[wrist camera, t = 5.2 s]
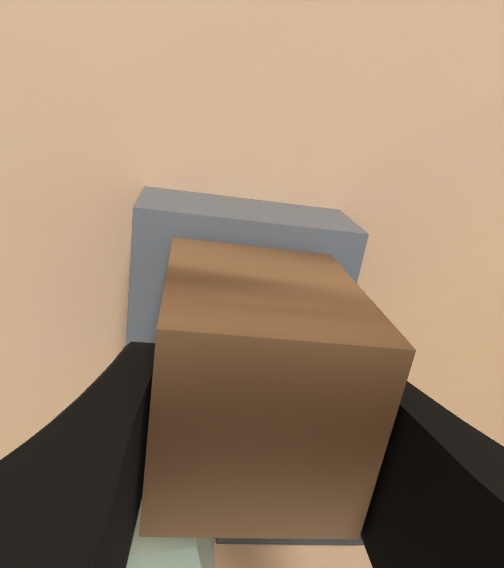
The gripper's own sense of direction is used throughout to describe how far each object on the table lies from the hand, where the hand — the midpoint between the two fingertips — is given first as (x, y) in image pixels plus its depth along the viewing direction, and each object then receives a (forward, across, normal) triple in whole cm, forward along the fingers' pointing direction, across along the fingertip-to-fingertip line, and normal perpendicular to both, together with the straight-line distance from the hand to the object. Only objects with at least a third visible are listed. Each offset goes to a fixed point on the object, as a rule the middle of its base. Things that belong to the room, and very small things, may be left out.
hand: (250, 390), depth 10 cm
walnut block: (+3, 0, 0) cm, 3 cm away
